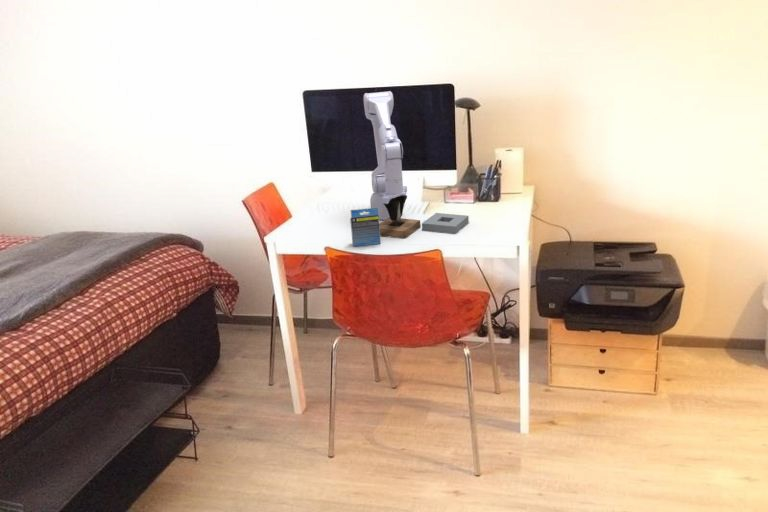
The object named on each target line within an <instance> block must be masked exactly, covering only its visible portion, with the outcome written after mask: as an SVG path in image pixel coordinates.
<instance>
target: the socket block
mask: <svg viewBox="0 0 768 512" xmlns="http://www.w3.org/2000/svg"><path fill="white" fill-rule="evenodd" d="M420 228H422V224H421V220H420V219H414V218H402V217H401V226H400V227H398V226H392V220H391V219H390V217H389V218H387V219H385V220H382V221H381V222H379V229H380V235H382V236H381V237H387V236H391V237H390V238H396V237H397V239H406V238H408V237H410V235H412V234H413V233H415V232H416V231H418V230H419V229H420Z"/></svg>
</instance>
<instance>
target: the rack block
mask: <svg viewBox="0 0 768 512" xmlns="http://www.w3.org/2000/svg"><path fill="white" fill-rule="evenodd" d="M469 218H470V217H469V215H465V214H464V215H463V214H454V213H453V214H452V213H441V212H435V213H433V214H432V215H431V216H430V217H428V218H427V219H426V220H425V221H423V222H422V223H421V231H425V232H435V233H443V232H447V233H446V234H452V233H456V232H457V233H458V232H460V231H461V230H462V229H463V228H464V227H465V226H467V225H468V224H469V220H470V219H469ZM460 229H461V230H460ZM459 230H460V231H459ZM457 233H456V234H457Z"/></svg>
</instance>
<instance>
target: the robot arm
mask: <svg viewBox="0 0 768 512" xmlns="http://www.w3.org/2000/svg"><path fill="white" fill-rule="evenodd" d="M394 103H395V101H394V94H393V92H392V91H390V90H388V91H379V92H369V93H368V92H365V93H364V94H363V107H364V108H363V109H364V115H365V118H366V119H367V120H369V121H371V125H372V128H373V129H372V130H373V136H374V145H375V151H376V160H377V167H376V168H375V169H374V170H372V171H371V172H372V173H371V188H372V194H371V196H370V199H369V201H370V202H369V203H370V208H378V215H379V221H381V220H382V221H384V220H385V219H387V218H389V217H390V219H391V220H395V221H396V220H397V217H398V206H399V203H400V215H401V218H402V216H403V214H404V213H403V211H404V206H405V203H406V200H407V199H408V195H407V193H408V186H407V185H406V186H405V185H404V184H403V167H402V160H403V158H404V156H403V155H404V148H403V144H402V141H401V140H400V139H399V137H398V133H397V130H396V127H395V125H394V124H392V123H391V116H392V113H393V109H394V107H395V106H394Z"/></svg>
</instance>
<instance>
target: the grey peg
mask: <svg viewBox="0 0 768 512" xmlns="http://www.w3.org/2000/svg"><path fill="white" fill-rule="evenodd" d="M401 218H402V217H401V215H400V203H399V206H398V217H397V220H396V221H395V220H392V226H398V227H400V226H401Z"/></svg>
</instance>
